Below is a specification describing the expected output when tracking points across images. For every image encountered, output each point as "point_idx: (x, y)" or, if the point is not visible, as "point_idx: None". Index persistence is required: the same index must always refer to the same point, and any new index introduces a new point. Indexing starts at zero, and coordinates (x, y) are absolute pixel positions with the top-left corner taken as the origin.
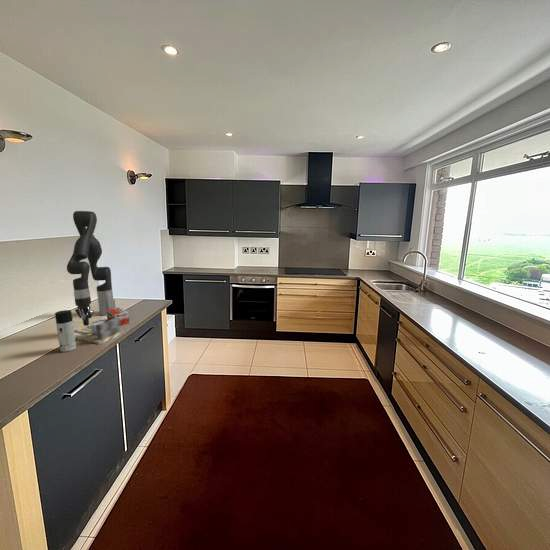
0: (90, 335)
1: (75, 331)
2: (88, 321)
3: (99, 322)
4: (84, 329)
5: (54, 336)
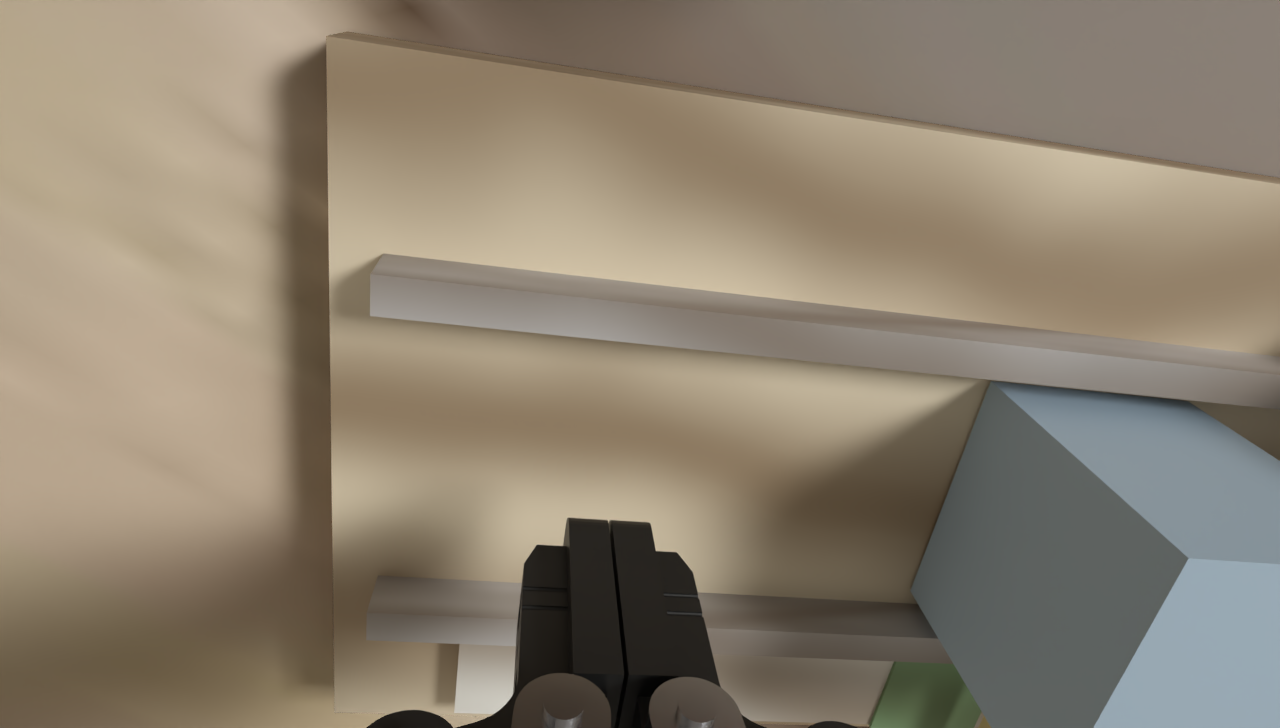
0: (953, 671)
1: (422, 627)
2: (704, 634)
3: (1212, 652)
4: (430, 409)
5: (48, 706)
